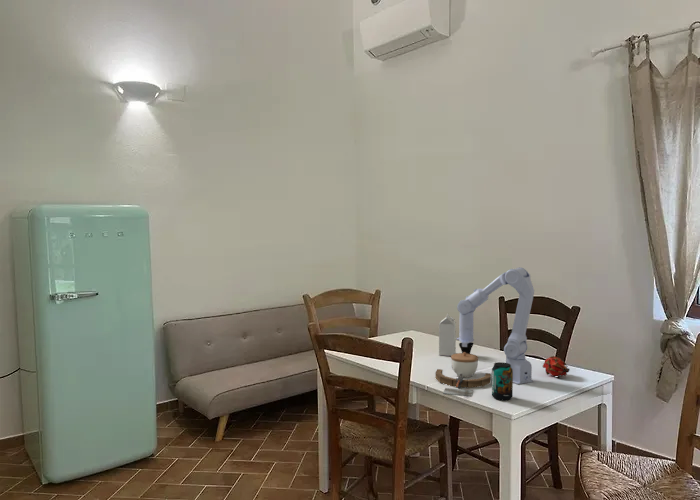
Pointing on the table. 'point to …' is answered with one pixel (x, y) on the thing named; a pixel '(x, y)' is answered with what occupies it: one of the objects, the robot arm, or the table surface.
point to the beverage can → (502, 381)
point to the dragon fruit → (555, 366)
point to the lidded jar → (464, 364)
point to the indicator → (459, 380)
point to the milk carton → (447, 336)
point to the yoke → (466, 383)
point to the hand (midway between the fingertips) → (466, 360)
